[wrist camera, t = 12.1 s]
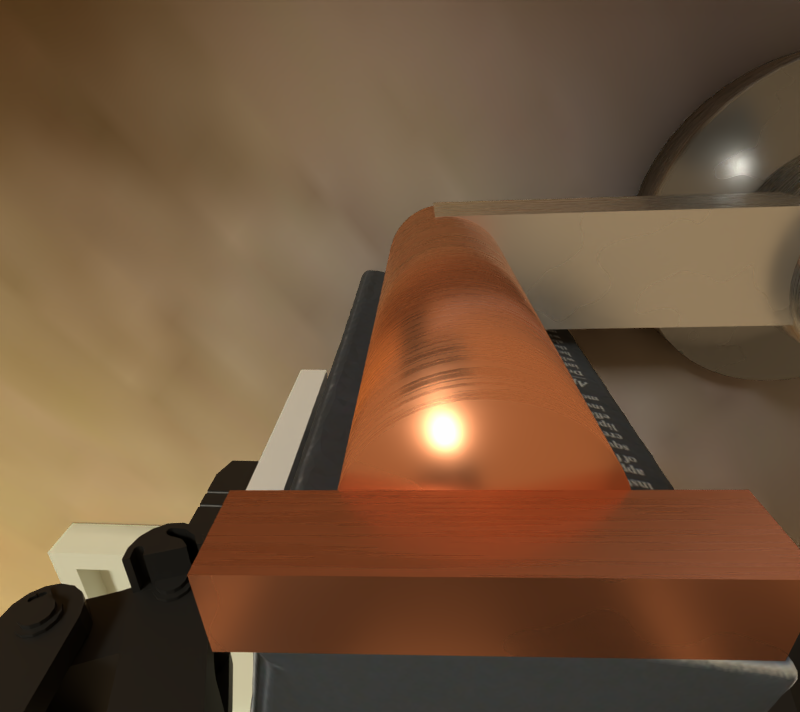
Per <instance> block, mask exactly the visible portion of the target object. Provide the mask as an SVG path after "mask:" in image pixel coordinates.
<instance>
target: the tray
mask: <svg viewBox="0 0 800 712" xmlns="http://www.w3.org/2000/svg"><path fill="white" fill-rule="evenodd" d="M156 527H159V526H147V525H117V524H87V523H72V524H71V525H70V527H69V528H68V529H67V530H66V531H65V532H64V534H63V535H62V536H61V537H60V538H59V540H58V541H57V542H56V543H55V544H54V546H53V547H52V548H51V549H50V550H49V551H48V555H49V557H50V559H51V561H52V564H53V566H54V568H55V570H56V573H57V575H58V577H59V580H60V582H61V584H68V585H75V586H76V587H77V588H78V589H79V590H81V591H82V592H83V594H84V597H85V599H89V598H93V597H97V596H102V595H106V594H110V593H114V592H118V591H122V590H125V589H128V588H131V585H130V583H129V580H128V577H127V574H126V571H125V568H124V565H123V562H122V558H123V556H124V554H125V552H126V550H127V548H128V547H129V546H130V545H131V544H132V543H133V542H134V541H135V540H136V539H137V538H138V537H139V536H141V535H143V534H145V533H146V532H148V531H150V530H151V529H153V528H156ZM231 657H232V661H233V710H232V712H250V707H251V699H252V678H253V652H231Z"/></svg>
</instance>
